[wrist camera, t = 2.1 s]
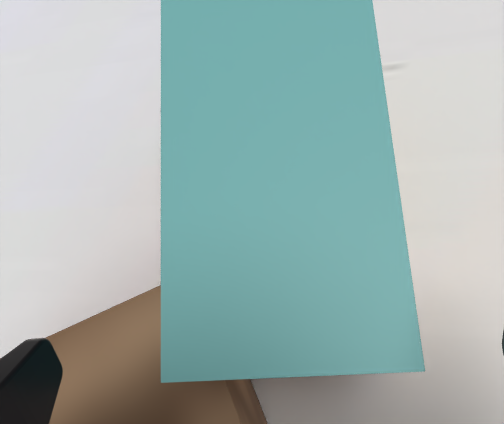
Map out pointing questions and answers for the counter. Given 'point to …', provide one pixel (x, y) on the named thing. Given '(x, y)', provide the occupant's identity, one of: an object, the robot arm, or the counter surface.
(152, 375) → the walnut block
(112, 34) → the counter surface
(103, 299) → the counter surface
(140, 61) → the counter surface
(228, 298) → the lid
